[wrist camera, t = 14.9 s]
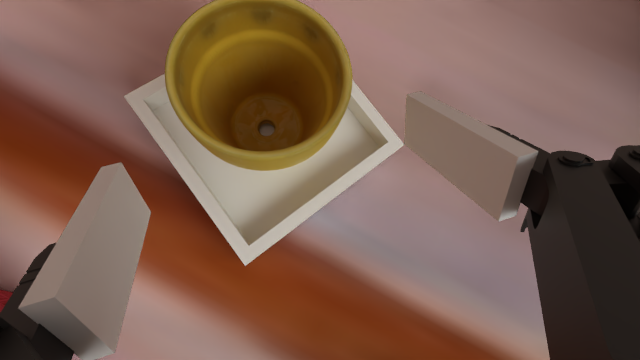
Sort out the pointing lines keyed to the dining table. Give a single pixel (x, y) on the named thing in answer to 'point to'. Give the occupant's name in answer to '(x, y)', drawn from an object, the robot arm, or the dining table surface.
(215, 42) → the plant pot
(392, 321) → the dining table surface
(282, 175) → the white tray
